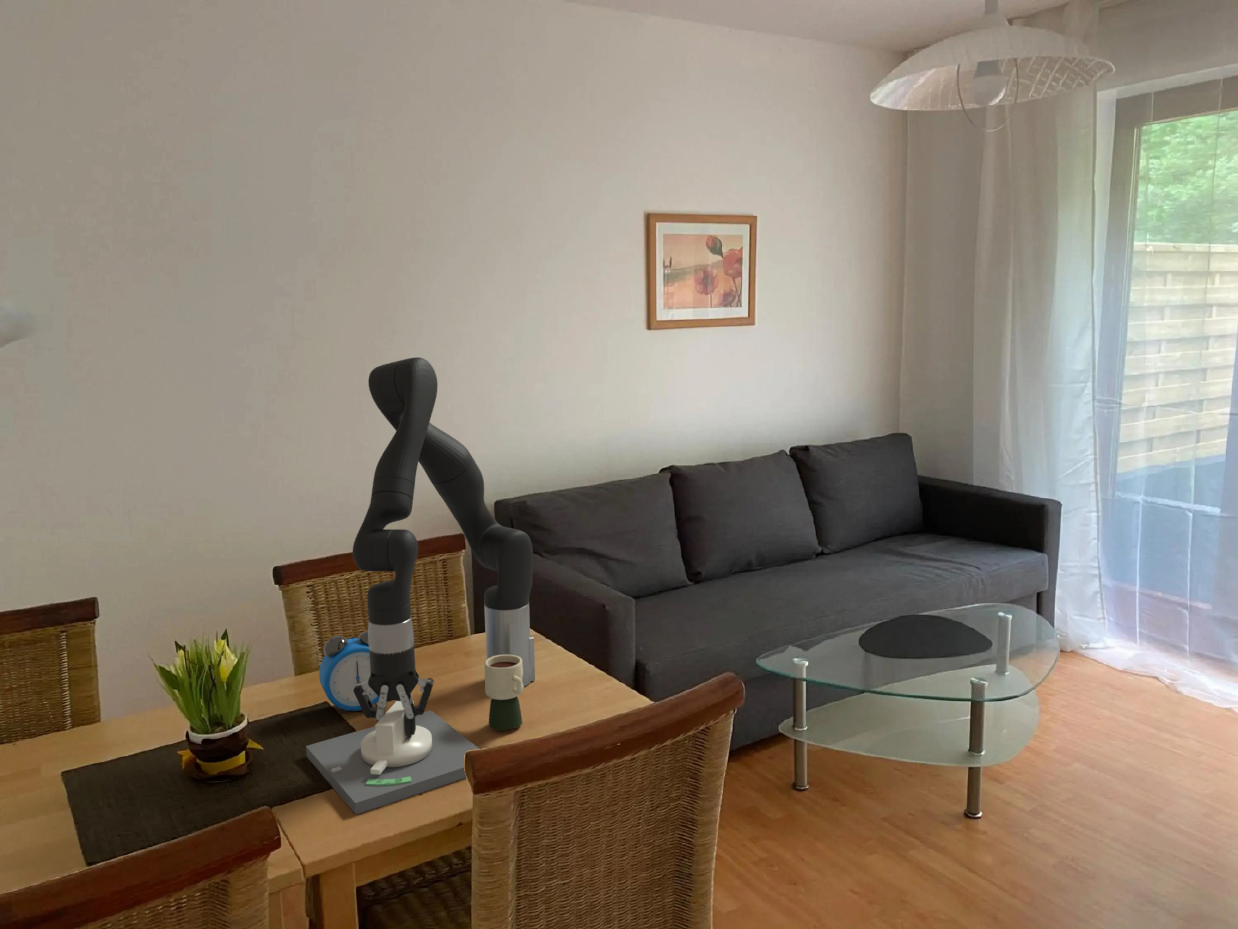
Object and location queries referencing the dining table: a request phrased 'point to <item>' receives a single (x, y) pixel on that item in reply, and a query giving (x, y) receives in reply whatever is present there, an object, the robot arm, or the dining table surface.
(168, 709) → the dining table surface
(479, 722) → the dining table surface
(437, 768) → the dial board
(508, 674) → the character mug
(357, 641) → the alarm clock
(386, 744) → the dial
